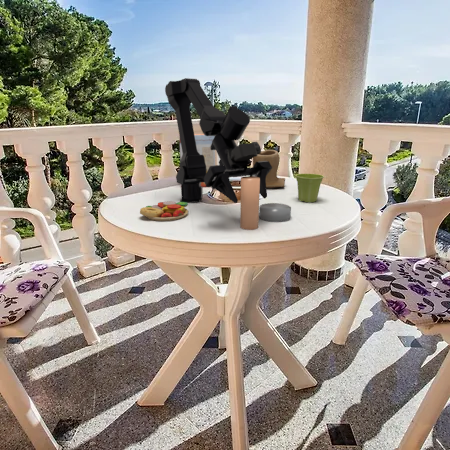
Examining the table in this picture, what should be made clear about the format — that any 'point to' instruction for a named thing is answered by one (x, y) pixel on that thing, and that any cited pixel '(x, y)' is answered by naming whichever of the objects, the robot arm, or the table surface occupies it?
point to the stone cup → (272, 175)
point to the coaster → (274, 212)
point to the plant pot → (308, 186)
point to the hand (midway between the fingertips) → (251, 199)
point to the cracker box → (203, 150)
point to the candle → (249, 202)
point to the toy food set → (165, 211)
